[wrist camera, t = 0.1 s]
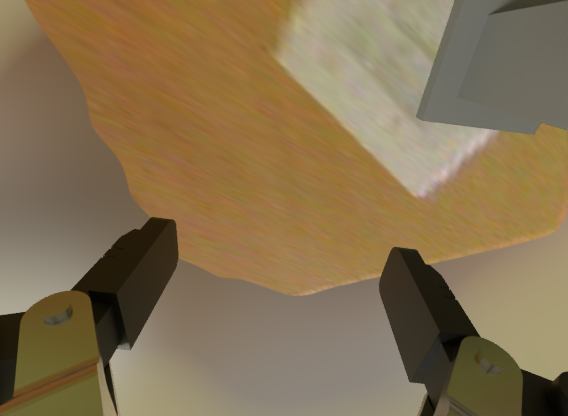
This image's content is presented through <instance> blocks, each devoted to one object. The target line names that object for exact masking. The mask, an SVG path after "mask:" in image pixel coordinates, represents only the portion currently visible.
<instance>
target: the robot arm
mask: <svg viewBox="0 0 568 416" xmlns="http://www.w3.org/2000/svg"><path fill="white" fill-rule="evenodd" d="M177 262H178V242H177V231H176V223H175V221H174V220H172V219H164V218H155V217H152V218H150V219H149V220H148V221H147V223H146V224H145V225H144V226H143V227H142V228H141V229H140V230H137V229H134V230H132V231H130V232H129V233H127V234H125V235H123V236H121V237H120V238H119V239H118V240H117V241H116V242H115V244H113V246H112V247H111V249H109V250H108V251H107V252H106V253H105V254H104V255H103V258H100V260H99V261H98V262H97V263H96V264H95V265H94V266H93V267H92V268H91V269H90V270H89V271H88V272H87V273H86V274H85V275H84V277H83V278H82V279H81V280H80V281H79V282H78V283H77V284H76V285H75V286H74V287H73V288H72V289H71V290H70V291H64V292H59V293H55V294H53V295H50V296H48V297H45V298H44V299H42V300H40V301H39V302H37V303H35V304H34V305H33V306H32V307H30V308H29V309H28V310H27V311H26V312H21V313H15V314H7V315H0V416H120V413H119V408H118V402H117V396H116V391H115V385H114V379H113V374H112V369H111V363H110V359H111V357H112V355H113V354H114V352H115V350H116V349H124V350H131V348H132V347H133V345H134V343H135V341H136V339H137V338H138V336H139V334H140V332H141V330H142V328H143V327H144V325H145V323H146V321H147V320H148V318H149V316H150V314H151V312H152V310H153V309H154V307H155V305H156V303H157V301H158V300H159V298H160V296H161V294H162V292H163V290H164V289H165V287H166V285H167V283H168V282H169V280H170V278H171V276H172V274H173V272H174V271H175V269H176V266H177ZM379 290H380V295H381V299H382V302H383V304H384V307H385V310H386V313H387V316H388V319H389V322H390V325H391V328H392V331H393V334H394V337H395V340H396V343H397V346H398V349H399V352H400V355H401V358H402V361H403V364H404V367H405V370H406V373H407V376H408V379H409V382H413V383H422V384H425V387H426V389H427V393H426V394H425V396H424V398H423V401H422V404H421V407H420V409H419V412H418V415H417V416H568V372H563V373H562V374H560V375H559V376H558V377H557V378H556V379H555V380H554V381H551V380H548V379H546V378H543V377H541V376H538V375H535V374H532V373H530V372H528V371H525V370H522V369H520V368H519V366H518V365H517V363H516V362H515V360H514V359H513V358H512V357H511V356H510V355H509V354H508V353H507V352H506V351H505V350H503V349H502V348H500V347H499V346H498V345H496V344H495V343H493V342H491V341H489V340H487V339H484V338H481V337H480V335H479V334H478V332H477V331H476V329H475V328H474V326H473V324H472V323H471V321H470V320H469V318H468V316H467V315H466V314H465V312H464V310H463V309H462V307H461V305H460V304H459V302H458V301H457V300H455V296H454V294H453V293H452V291H451V290H449V287H448V285H447V283H446V282H445V280H444V279H443V278H442V276H441V275H440V274H439V273H438V272H437V271H436V270H435V269H434V268H432V267H431V266H430V265H426V264H425V263H424V261H423V259H422V258H421V256H420V254H419V253H418V251H417V250H415V249H408V248H400V247H394V248H392V250H391V252H390V254H389V257H388V259H387V262H386V265H385V267H384V270H383V272H382V275H381V278H380V283H379Z"/></svg>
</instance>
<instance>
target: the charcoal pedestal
mask: <svg viewBox="0 0 568 416" xmlns="http://www.w3.org/2000/svg"><path fill="white" fill-rule="evenodd" d="M416 117H417V118H418V119H420V120H422V121H430V122H438V123H446V124H454V125H461V126H469V127H477V128H485V129H493V130H501V131H509V132H517V133H525V134H533V135H534V134H535V133H536V131H537V129H538V127H539V125H540V124H541V123H544V124H547V125H551V126H554V127H557V128H561V129H564V130H568V0H455V2H454V5H453V8H452V11H451V14H450V17H449V20H448V23H447V26H446V29H445V32H444V35H443V38H442V40H441V43H440V46H439V49H438V52H437V55H436V58H435V61H434V64H433V67H432V70H431V73H430V76H429V79H428V82H427V85H426V88H425V91H424V94H423V97H422V100H421V103H420V106H419V109H418V112H417V115H416Z"/></svg>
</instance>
